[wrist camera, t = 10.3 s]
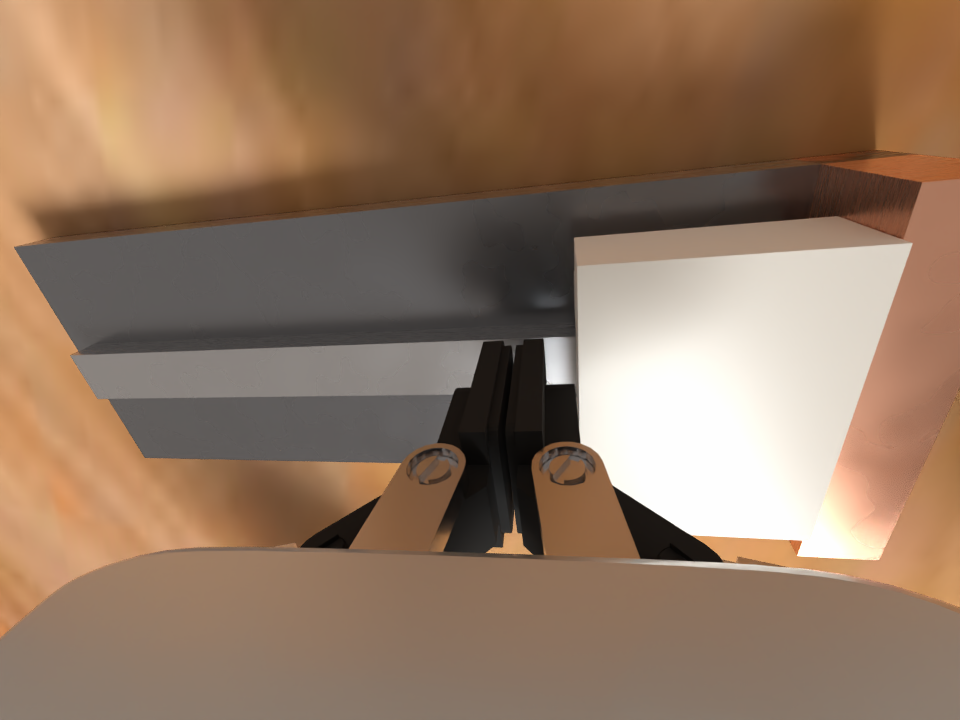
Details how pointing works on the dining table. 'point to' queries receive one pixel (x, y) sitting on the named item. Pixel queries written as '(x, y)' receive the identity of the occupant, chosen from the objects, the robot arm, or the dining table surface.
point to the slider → (729, 364)
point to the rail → (476, 315)
